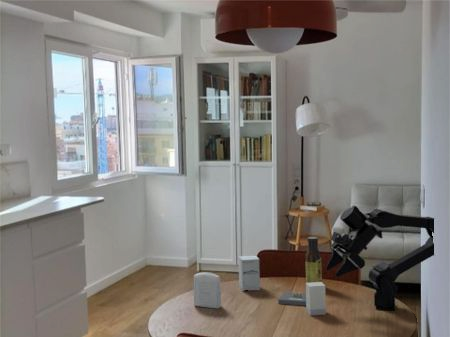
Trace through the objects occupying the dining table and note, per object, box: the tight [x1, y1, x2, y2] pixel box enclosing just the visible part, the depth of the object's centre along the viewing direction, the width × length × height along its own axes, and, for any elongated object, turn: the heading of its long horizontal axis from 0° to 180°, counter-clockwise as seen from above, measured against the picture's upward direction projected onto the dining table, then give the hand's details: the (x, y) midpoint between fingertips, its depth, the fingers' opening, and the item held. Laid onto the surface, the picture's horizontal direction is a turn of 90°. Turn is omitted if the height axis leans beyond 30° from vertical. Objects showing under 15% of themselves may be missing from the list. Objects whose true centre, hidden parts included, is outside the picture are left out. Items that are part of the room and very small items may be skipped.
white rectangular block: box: [305, 281, 327, 316], centre depth 182 cm, size 6×4×10 cm
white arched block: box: [193, 271, 222, 309], centre depth 192 cm, size 10×4×12 cm, turn 67°
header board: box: [278, 291, 306, 306], centre depth 196 cm, size 12×10×3 cm
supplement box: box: [238, 255, 261, 292], centre depth 213 cm, size 7×7×13 cm
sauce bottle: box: [305, 236, 323, 284], centre depth 211 cm, size 6×6×20 cm
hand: (330, 272), depth 182 cm, fingers open, 9 cm apart
